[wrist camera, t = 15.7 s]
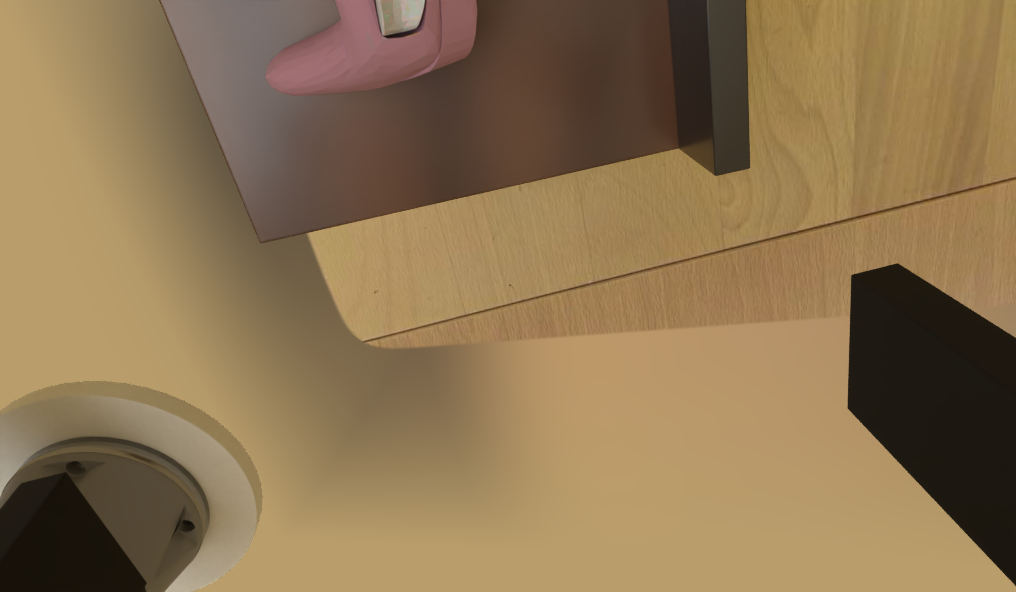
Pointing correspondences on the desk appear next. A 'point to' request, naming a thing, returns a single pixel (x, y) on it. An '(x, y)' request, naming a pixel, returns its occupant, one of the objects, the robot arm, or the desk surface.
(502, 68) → the shelf
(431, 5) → the video game controller
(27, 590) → the robot arm
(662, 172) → the desk surface
